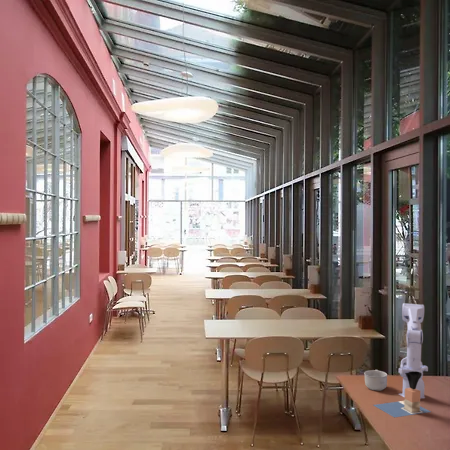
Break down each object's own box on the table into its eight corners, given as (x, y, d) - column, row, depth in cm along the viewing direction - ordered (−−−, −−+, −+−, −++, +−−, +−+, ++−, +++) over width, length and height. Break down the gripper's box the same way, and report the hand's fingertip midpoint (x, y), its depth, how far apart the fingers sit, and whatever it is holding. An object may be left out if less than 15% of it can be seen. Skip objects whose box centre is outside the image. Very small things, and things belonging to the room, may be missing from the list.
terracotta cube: (412, 397, 214) (413, 387, 214) (420, 401, 210) (420, 391, 210) (404, 398, 212) (405, 388, 212) (412, 402, 208) (412, 392, 208)
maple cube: (412, 407, 214) (412, 397, 214) (419, 411, 210) (420, 401, 210) (404, 408, 212) (404, 398, 212) (411, 412, 208) (411, 402, 208)
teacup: (383, 394, 231) (384, 378, 231) (361, 389, 237) (361, 373, 236) (390, 386, 243) (391, 370, 243) (368, 382, 248) (369, 366, 248)
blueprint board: (408, 401, 223) (408, 399, 223) (431, 413, 210) (431, 411, 210) (372, 406, 216) (372, 404, 216) (394, 418, 203) (394, 416, 203)
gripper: (407, 361, 204) (406, 393, 205) (433, 358, 210) (432, 389, 210) (395, 356, 211) (394, 387, 211) (421, 354, 216) (420, 384, 216)
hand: (412, 388), depth 211 cm, fingers closed
